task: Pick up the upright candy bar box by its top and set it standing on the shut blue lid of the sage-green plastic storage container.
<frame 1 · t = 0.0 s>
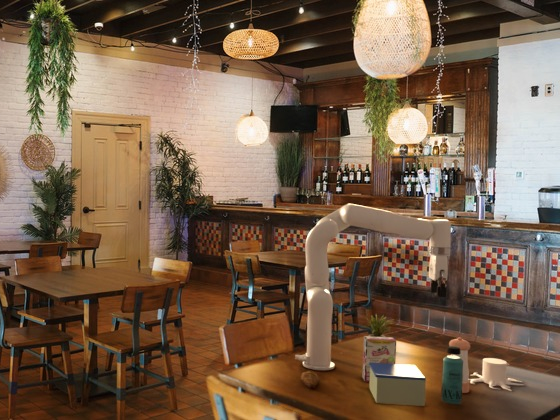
hand: (438, 294, 254), 31 cm above the table, tool pointing down, fingers open, 9 cm apart
candy bar box: (378, 381, 244), on the table
house plant: (377, 351, 289), on the table
pepper shaker: (458, 390, 235), on the table
container lid: (396, 370, 226), point 9 cm above the table, hinge at 0.0°
croissant: (309, 384, 240), on the table
beverage bottle: (451, 405, 218), on the table
container: (396, 397, 226), on the table
tree stump: (493, 382, 245), on the table
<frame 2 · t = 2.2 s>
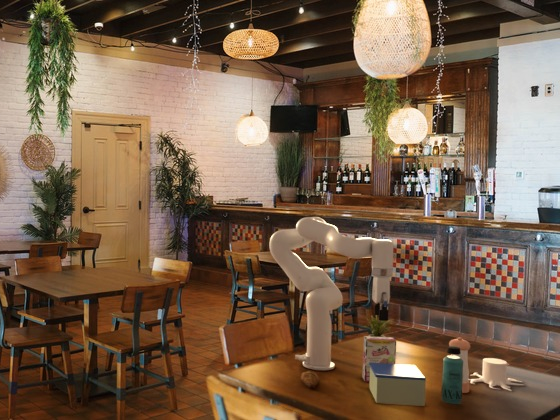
hand: (381, 317, 243), 24 cm above the table, tool pointing down, fingers open, 9 cm apart
nothing on the table moved.
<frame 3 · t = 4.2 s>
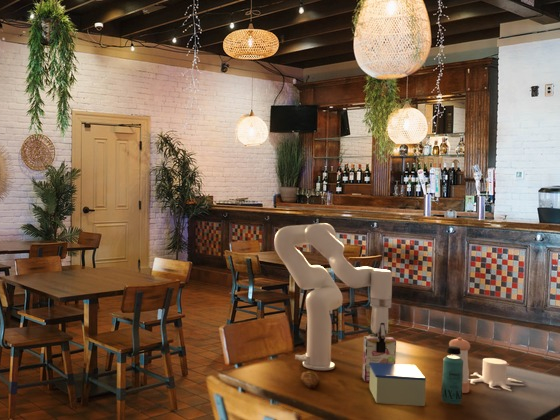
hand: (379, 349, 244), 12 cm above the table, tool pointing down, fingers closed on candy bar box, 5 cm apart
candy bar box: (378, 381, 244), on the table, touching gripper
everything else where it was.
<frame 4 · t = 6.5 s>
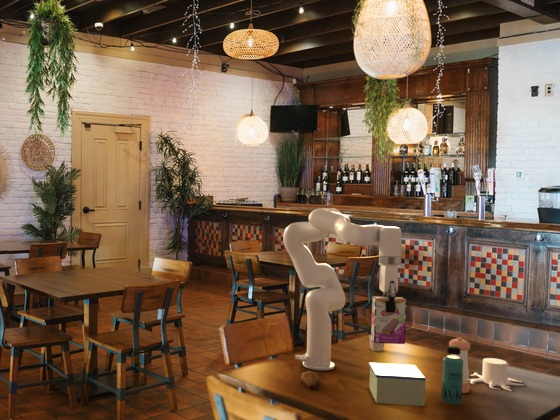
hand: (388, 310, 235), 29 cm above the table, tool pointing down, fingers closed on candy bar box, 5 cm apart
candy bar box: (388, 343, 235), point 17 cm above the table, touching gripper
everything else where it was.
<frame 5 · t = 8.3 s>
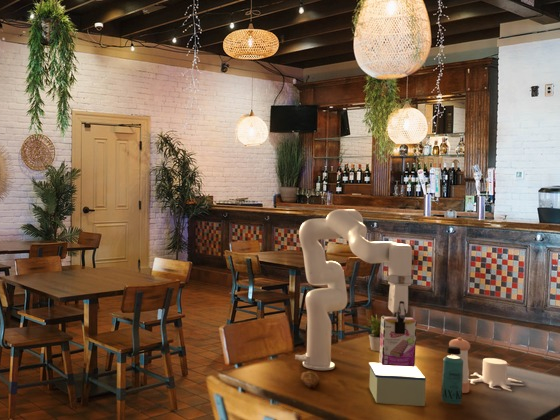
hand: (398, 331, 225), 23 cm above the table, tool pointing down, fingers closed on candy bar box, 5 cm apart
candy bar box: (397, 365, 226), point 11 cm above the table, touching gripper
everything else where it was.
when the fingers open (21 cm above the table, at t = 9.3 s): candy bar box stays where it is, resting on container lid.
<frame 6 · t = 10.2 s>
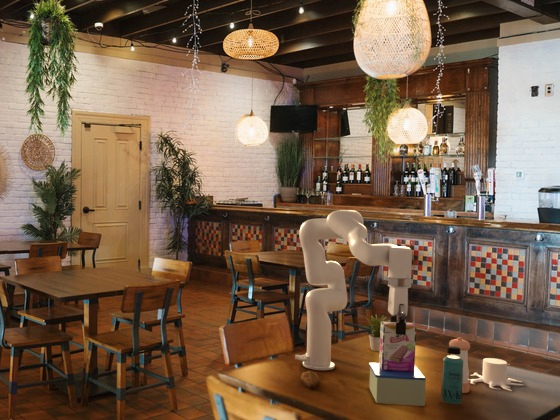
hand: (397, 331, 225), 23 cm above the table, tool pointing down, fingers open, 9 cm apart
candy bar box: (396, 370, 226), point 9 cm above the table, touching container lid
container lid: (396, 371, 226), point 9 cm above the table, hinge at -0.2°, touching candy bar box, container
everything else where it was.
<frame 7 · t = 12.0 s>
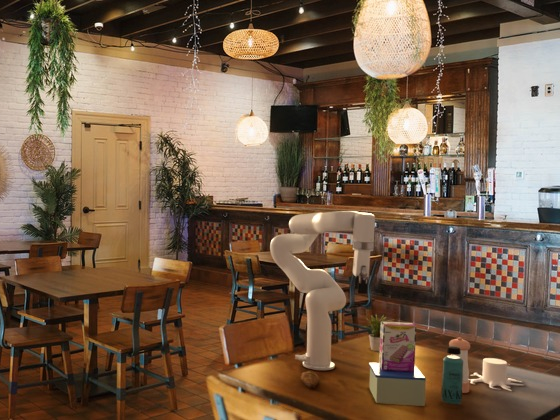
hand: (360, 291, 244), 34 cm above the table, tool pointing down, fingers open, 9 cm apart
nothing on the table moved.
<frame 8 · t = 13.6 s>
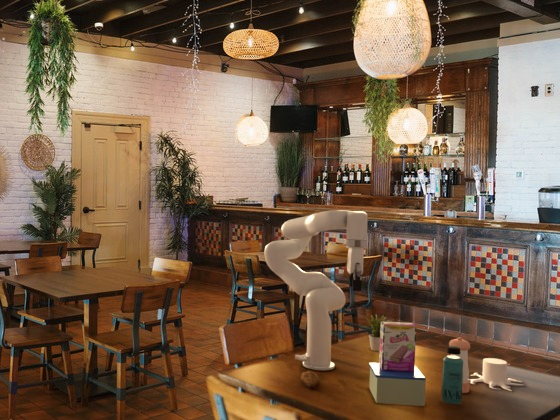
hand: (355, 288, 247), 34 cm above the table, tool pointing down, fingers open, 9 cm apart
nothing on the table moved.
at the end: candy bar box inside the target area on the container (0.1 cm from its centre), point 9.4 cm above the container's base; candy bar box tilted 0°; container lid at +0° (first picture: +0°) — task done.
